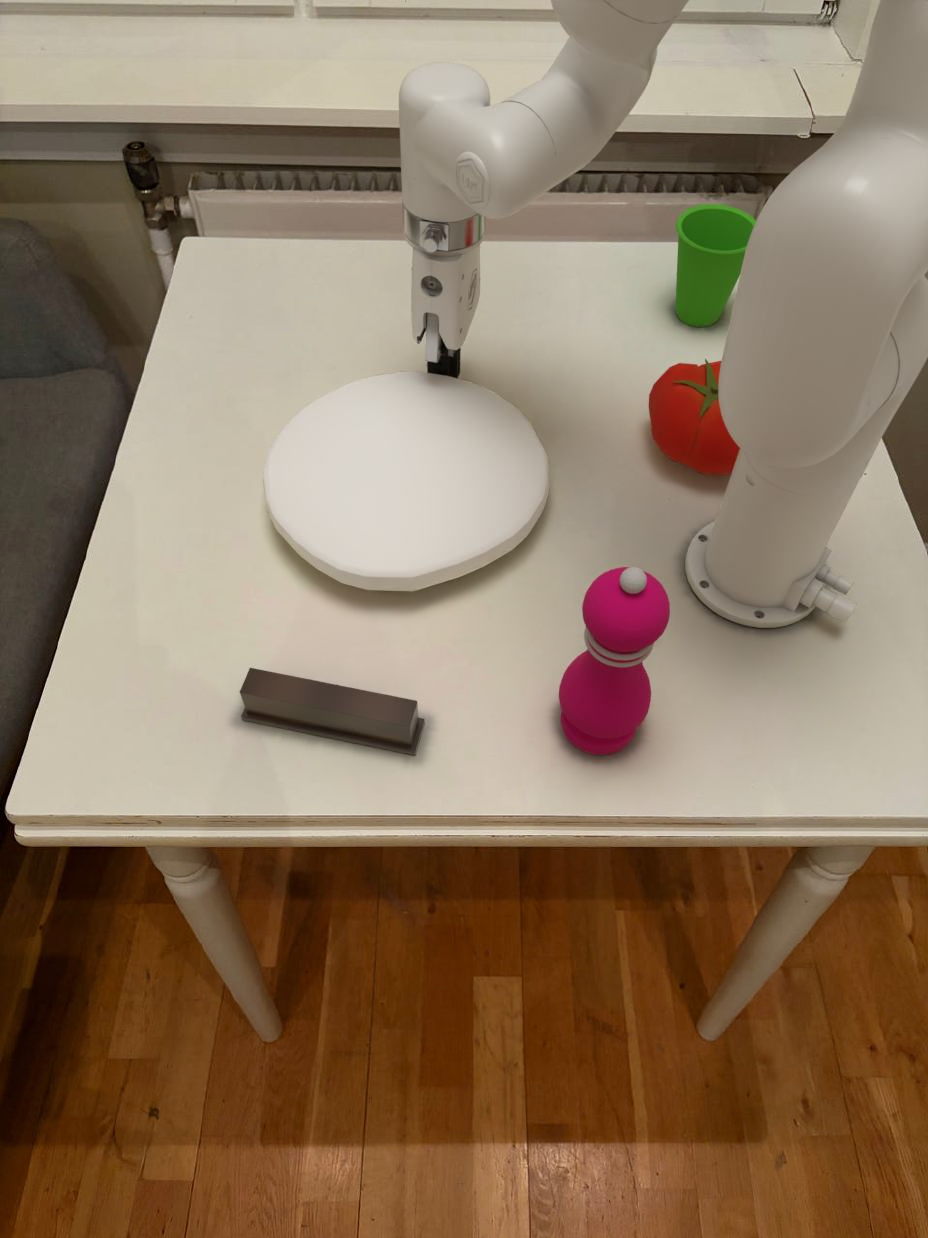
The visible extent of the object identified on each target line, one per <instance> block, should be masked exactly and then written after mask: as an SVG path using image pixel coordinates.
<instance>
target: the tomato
mask: <svg viewBox="0 0 928 1238" xmlns="http://www.w3.org/2000/svg"><path fill="white" fill-rule="evenodd" d="M721 361H722V360H718V361H712V362H709V361H708V360H707V358H705V359H704V362H705V363H703V364H700V365H698V364H697V363H684V362H679V363H676V364H673V365H671V366H669V367H668V369H666V370H665V371H664V373H663V374H662V375H660V377H658V378H657V380H656V381H655V382H654V383H653V384H652V387H651V390H650V392H649V394H648V413H649V421H650V422H649V423H650V434H651V437H652V440H653V441H654V443H655V444H656V446H657V448H658V449H659V450H660V451H661V452H662V453H663V454H664V455H666V456H667V457H668V458H669V459H670V460H672V461H673V462H675V463H679V464H681V465H684V466H687V467H688V468H690V469H692V470H693V471H696V472H698V473H701V474H705V475H710V476H711V475H712V476H719V475H731V474H732V471H733V468H734V465H735V462H736V459H737V456H738V453H739V450H740V447H739V446H738V445H737V444H736V443H735V441H734V440H733V439H732V437H731V435H730V434H729V432H728V430H727V428H726V426H725V423H724V421H723V418H722V415H721V410H720V405H719V397H718V385H719V374H720V367H721Z"/></svg>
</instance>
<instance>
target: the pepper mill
mask: <svg viewBox="0 0 928 1238" xmlns="http://www.w3.org/2000/svg"><path fill="white" fill-rule="evenodd" d="M581 608H582V610H581V613H582V619H583V622H584V623H583V624H584V625H585V628H584V633H583V640H584V643H585V647H586V648H587V649H586V650H585V651H584V652H581V654H579V655H577V656H576V657H575V658H574V659H573V660H572V661H571V663H570V664H569V665H568V666H567V668H566V669H565V671H564V672H563V675H562V677H561V680H560V683H559V687H558V700H559V706H560V709H561V712H560V727H561V729H562V732H563V735H564V736H565V738H566V739H567V740H568V741H569V742H570V743H571V744H572V745H573V746H574V747H576V748H577V749H579V750H581V751H583V752H585V753H588V754H592V755H597V756H598V755H600V756H604V755H611V754H614V753H615V754H616V753H618V752H620V751H621V750H623V749H624V748H625V747H626V746H628V745H629V743H630V742H631V741H632V739H633V738H634V736H635V733H636V731H637V728H639V727H640V725H641V724H642V723H643V722H644V721H645V719H646V717H647V716H648V714H649V710H650V707H651V701H652V687H651V680H650V676H649V675H648V671H647V670H646V668H645V666H644V663H643V662H644V661H645V660H647V658H649V656H650V655H651V653H652V651H653V648H654V644H655V643H656V642H657V641H658V640H659V639H660V638H661V637H662V636H663V635H664V633H665V631H666V629H667V627H668V624H669V621H670V614H671V603H670V598H669V594H668V593H667V590H666V589H665V587H664V585H663V584H662V583H661V582H660V581H659V580H658V579H657V578H656V577H655V576H654V575H652V574H651V573H650V572H647V571H645V570H642V569H641V568H639V567H636V566H632V567H631V566H621V567H615V568H611V569H609V570H606V571H604V572H603V573H600V575H598V576H597V577H595V579H594V580H593V581H592V582H591V584H590V585H589V587H588V588H587V590H586V592H585V594H584V597H583V602H582V606H581Z"/></svg>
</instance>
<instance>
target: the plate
mask: <svg viewBox="0 0 928 1238" xmlns="http://www.w3.org/2000/svg"><path fill="white" fill-rule="evenodd" d="M549 465H550V464H549V457H548V455H547V452H546V450H545V448H544V447H543V445H542V442H541V441H540V439H539V437H538V435H537V434H536V431H535V429H534V428H533V426H532V424H531V422H530V421H529V420H528V419H527V418H526V417H525V415H523V413H522V412H521V411H520V410H519V409H518V408H517V407H516V406H515V405H513V404H512V403H510V402H509V401H507V400H505V399H504V398H503V397H501V396H500V395H498V394H497V393H496V392H494V391H492V390H490V389H488V388H486V387H483V386H481V385H479V384H476V383H475V382H471V381H468V380H465V379H461V378H458V379H457V378H454V377H450V376H444V375H438V374H431V373H427V372H425V371H423V372H422V371H403V370H402V371H396V372H390V373H384V374H379V375H373V376H368V377H364V378H361V379H358V380H355V381H352V382H349V383H346V384H344V385H341V386H340V387H337V388H335V389H334V390H332V391H330V392H328V393H327V394H325V395H322V396H321V397H319V398H317V399H315V400H313V401H311V402H310V403H308V404H307V405H306V406H305V407H303V408H302V409H301V410H299V411H298V412H296V413H295V414H294V415H293V416H292V418H291V419H289V421H288V422H287V423H286V425H285V426H284V427H283V429H282V430H281V431H280V432H279V433H278V434H277V436H276V437H275V438H274V440H273V443H272V444H271V446H270V448H269V451H268V453H267V455H266V459H265V464H264V469H263V473H262V475H263V476H262V485H263V490H264V491H263V492H264V500H265V507H266V511H267V514H268V515H269V518H270V519H271V522H272V523H273V526H274V528H275V530H276V531H277V532H278V533H279V534H280V536H281V537H282V538H283V539H284V540H285V541H286V543H288V545H290V547H291V548H292V549H293V550H294V551H295V553H297V554H298V556H300V557H301V558H302V559H303V560H305V561H306V562H308V563H309V564H310V565H311V566H312V567H314V568H315V569H316V570H318V571H320V572H321V573H323V574H325V575H326V576H328V577H330V578H332V579H334V580H335V581H337V582H339V583H341V584H343V585H348V586H351V587H355V588H359V589H362V590H367V591H386V592H387V591H388V592H389V591H390V592H392V591H393V592H416V591H419V590H423V589H426V588H429V587H432V586H436V585H438V584H439V585H440V584H443V583H445V582H449V581H451V580H452V581H453V580H455V579H457V578H461V577H463V576H465V575H467V574H468V575H469V574H470V573H472V572H474V571H475V572H476V570H477V571H478V570H479V569H481V568H484V567H486V566H487V565H489V564H491V563H492V562H495V561H496V560H498V559H500V558H502V557H503V556H505V555H506V554H508V553H509V552H511V551H513V550H514V549H515V548H516V547H517V546H518V545H519V544H521V543H522V542H523V541H524V539H526V538H527V537H528V536H529V535H530V533H531V531H532V530H533V528H534V526H535V525H536V524H537V522H538V520H539V518H540V517H541V515H542V513H543V512H544V510H545V508H546V503H547V499H548V496H549V492H550V467H549Z"/></svg>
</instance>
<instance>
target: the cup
mask: <svg viewBox="0 0 928 1238" xmlns="http://www.w3.org/2000/svg"><path fill="white" fill-rule="evenodd" d="M756 221H757V219H755V218H754V217H753V216H752V215H751V214H749V213H747V212H745V211H744V210H742V209H739V208H736V207H734V206H729V205H725V204H719V203H718V204H716V203H710V204H708V203H707V204H700V205H696V206H695V205H694V206H692V207H690V208H687V209H686V210H685V211H683V212H682V213H680V216H679V217H678V218H677V220H676V223H675V229H676V230H675V231H676V232H677V235H678V237H677V238H678V239H677V259H676V282H675V283H676V284H675V304H674V306H675V307H674V308H675V313H676V316H677V318H678V319H679V320H680V321H681V322H682V323H684V324H686V325H688V326H691V327H694V328H695V327H696V328H706V327H710V326H712V325H714V324H715V323H716V322H717V321H718V320H719V319H720V318H721V316H722V314H723V311H724V310H725V307H726V306H727V303H728V301H729V299H730V297H731V295H732V293H733V290H734V288H735V286H736V285H737V283H738V281H739V278H740V273H741V268H742V264H743V260H744V256H745V251H746V248H747V244H748V241H749V238H750V235H751V233H752V230H753V228H754V225H755V223H756Z"/></svg>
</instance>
